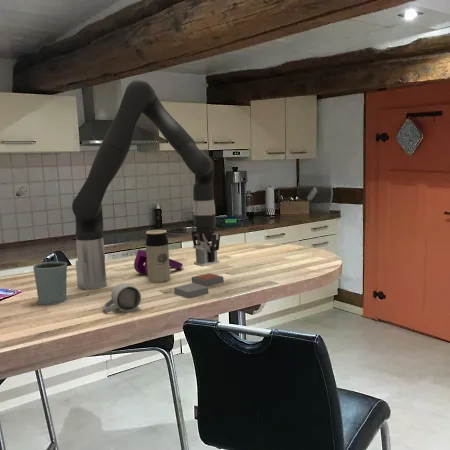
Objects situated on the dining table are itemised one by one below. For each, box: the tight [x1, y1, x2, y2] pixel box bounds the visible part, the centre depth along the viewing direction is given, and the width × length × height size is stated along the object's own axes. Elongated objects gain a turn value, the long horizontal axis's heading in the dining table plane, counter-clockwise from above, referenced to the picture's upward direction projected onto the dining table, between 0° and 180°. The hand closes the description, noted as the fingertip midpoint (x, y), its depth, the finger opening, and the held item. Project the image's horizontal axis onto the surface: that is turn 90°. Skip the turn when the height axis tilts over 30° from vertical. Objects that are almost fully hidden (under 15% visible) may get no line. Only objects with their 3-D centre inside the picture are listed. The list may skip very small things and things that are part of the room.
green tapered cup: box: [32, 261, 68, 306], centre depth 161 cm, size 10×10×12 cm
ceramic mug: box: [102, 282, 142, 314], centre depth 150 cm, size 11×8×8 cm
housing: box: [192, 244, 221, 267], centre depth 176 cm, size 8×5×7 cm, turn 129°
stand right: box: [191, 272, 224, 287], centre depth 177 cm, size 8×8×2 cm
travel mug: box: [145, 229, 171, 283], centre depth 182 cm, size 8×8×18 cm
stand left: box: [173, 282, 210, 299], centre depth 164 cm, size 8×8×2 cm
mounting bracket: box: [133, 249, 184, 276], centre depth 195 cm, size 9×8×18 cm
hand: (206, 260), depth 176 cm, fingers closed on housing, 5 cm apart
